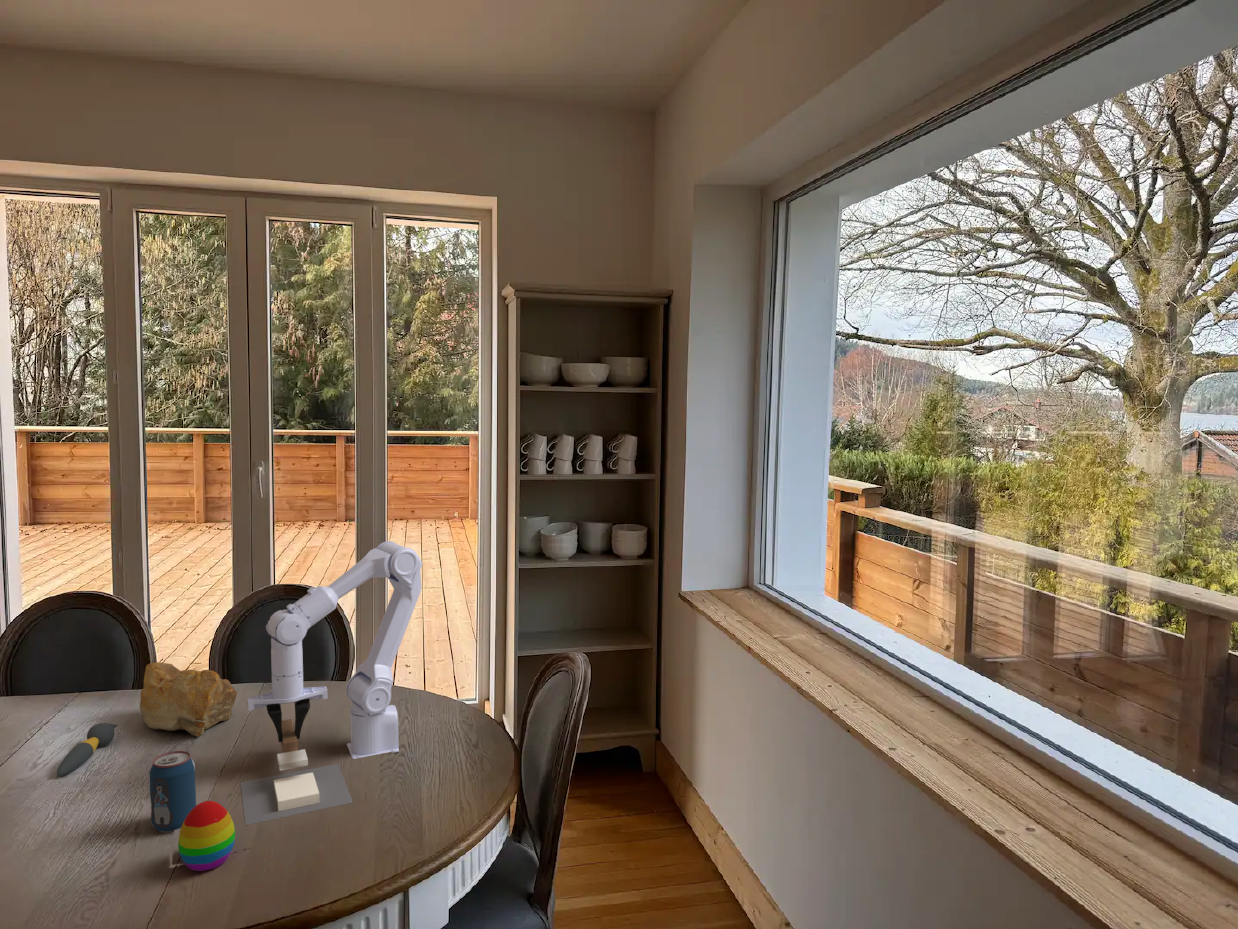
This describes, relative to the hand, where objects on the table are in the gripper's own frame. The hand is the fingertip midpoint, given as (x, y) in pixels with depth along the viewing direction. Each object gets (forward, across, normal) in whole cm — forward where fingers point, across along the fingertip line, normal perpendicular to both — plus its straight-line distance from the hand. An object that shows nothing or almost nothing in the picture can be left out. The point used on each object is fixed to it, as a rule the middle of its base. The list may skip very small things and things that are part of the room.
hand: (289, 738), depth 162 cm
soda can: (+7, +20, +12) cm, 24 cm away
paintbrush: (+8, +36, -25) cm, 44 cm away
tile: (+6, 0, +7) cm, 9 cm away
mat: (+7, 0, +10) cm, 12 cm away
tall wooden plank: (+2, 0, 0) cm, 2 cm away
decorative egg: (+7, +15, +27) cm, 31 cm away
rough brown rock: (+7, +16, -33) cm, 38 cm away
